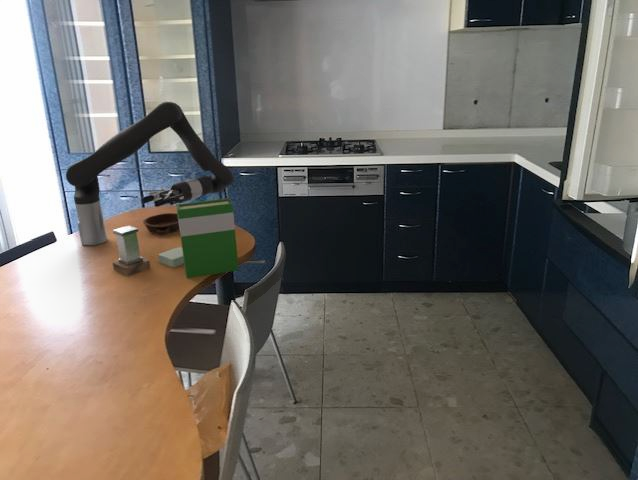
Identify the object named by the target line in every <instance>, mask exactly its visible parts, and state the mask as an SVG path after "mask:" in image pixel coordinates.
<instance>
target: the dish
mask: <svg viewBox="0 0 638 480" xmlns="http://www.w3.org/2000/svg"><path fill="white" fill-rule="evenodd" d="M142 224H143V225H144V226H145V227H146V229H147V231H149V232H150V233H152V234H157V235H160V236H165V235H168V234H171V233H174V232H176V231H180V229H179V221H178V214H177V212H176V213H173V212H165V213H159V214H156V215H155V214H154V215H151V216H148V217H146V218H144V220H143V221H142Z"/></svg>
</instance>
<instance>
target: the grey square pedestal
mask: <svg viewBox="0 0 638 480" xmlns="http://www.w3.org/2000/svg"><path fill="white" fill-rule="evenodd" d="M112 233H113V234H114V235H115V237H116V238H115V239H116V243H117V245H116V246H117V249H118V254H119V258H117V259H118V260H117V261H119V263H122V264H124V265H126V266H129V265H132V264H135V263H138V262H141V261H143V258H144V257H143V256H141V252H140V246H139V245H140V244H139V240H138V233H139V229H138V228H137V227H134V226H132V225H125V226H122V227H118V228H115V229H112Z"/></svg>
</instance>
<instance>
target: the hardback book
mask: <svg viewBox="0 0 638 480" xmlns="http://www.w3.org/2000/svg"><path fill="white" fill-rule="evenodd" d="M175 206H176V207H175V208H176V213H177V214H178V221H179V236H180V242H181V248H182V250H183V258H184V264H183V265H184V270H185V276H186V279H191V278H199V277H204V276H211V275H217V274H222V273H229V272H235V271H239V270H240V268H239V259H238V258H239V257H238V248H237V247H238V246H237V236H236V228H235V215H234V208H233V207H234V206H233V203H232V202H230V198H229V197H228V198H227V197H226V198H221V199H220V198H218V199H209V200H203V201H193V202H183V203H176V205H175Z"/></svg>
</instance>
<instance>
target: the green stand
mask: <svg viewBox="0 0 638 480" xmlns="http://www.w3.org/2000/svg"><path fill="white" fill-rule="evenodd" d="M157 258H158V263H160V264H163V265H166V266H168V267H170V268H176V267H179V266H182V265H184V258H183V250H182V247H180V246H178V247H175V248H172V249H169V250H166V251H163V252H161V253H158V254H157Z"/></svg>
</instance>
